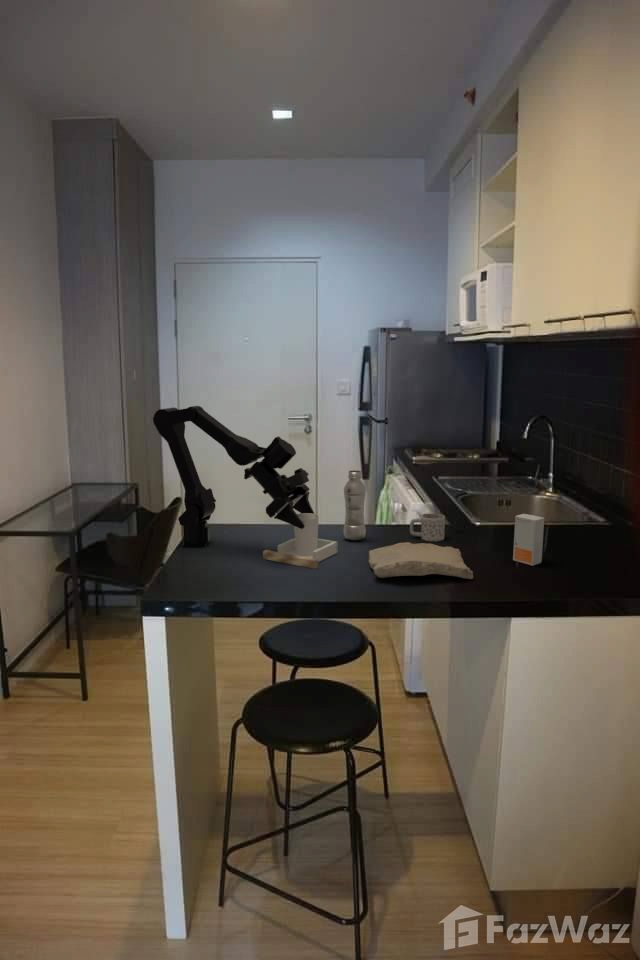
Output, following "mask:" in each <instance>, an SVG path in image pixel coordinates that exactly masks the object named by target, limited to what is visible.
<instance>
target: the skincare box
mask: <svg viewBox="0 0 640 960" xmlns="http://www.w3.org/2000/svg"><path fill="white" fill-rule="evenodd" d="M544 526H545V517H542V516H537V515H534V514H533V515H532V514H526V513H521V514H517V515H515V517H514V533H513V536H514V537H513V552H512V553H513V555H512V560H513V561H515V562H518V563H522V564H526V565H529V566H532V567H533V566H535V565H539V564H541V563H542V561H543V560H542V559H543V558H542V557H543V543H544V529H545V527H544Z"/></svg>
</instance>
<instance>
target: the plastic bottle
mask: <svg viewBox="0 0 640 960" xmlns="http://www.w3.org/2000/svg"><path fill="white" fill-rule="evenodd" d="M347 477H348V481H347V482H346V483H345V485H344V487H343V496H344V502H345V505H344V506H345V518H344V523H343V524H344V525H343V535H344V538H345V539H346V540H350V541H360V540H363V539H364V537H366V531H367V528H366V524H365V514H364V512H365V500H366V494H367V489H366V485H365V483H363V481H362V480H361V479H362V478H363V477H362V471H361V470H359V469H358V470H355V469H354V470H353V469H352V470H349V471H348V476H347Z"/></svg>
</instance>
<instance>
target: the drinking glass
mask: <svg viewBox="0 0 640 960" xmlns="http://www.w3.org/2000/svg"><path fill="white" fill-rule="evenodd" d="M296 514H297V515H298V517H299V518H300V520H301V521H302V522H303V524H304V526H305V527H304V528H303V529H300V528H298V527H296V526H293V529H294V538H295V551H296V554H298V555H302V556H309V555H313V553H312V552H313V551H315V550H317V543H318V539H319V518H320V517H319V515H318V514H316V513H314V514H312V513H296Z"/></svg>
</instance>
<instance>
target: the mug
mask: <svg viewBox="0 0 640 960" xmlns="http://www.w3.org/2000/svg"><path fill="white" fill-rule="evenodd" d="M445 522H446V515H444V514H440V513H434V512H433V513H431V512H430V513H429V512H428V513H423V514H421V517H419V518H418V517H417V518H413V519H411V520H410V522H409V533H410V535H411V536H416V537H420V539H421V540H424V541H427V542H441V541H444V539H445ZM415 523H420V525H421V529H420V531H414V524H415Z"/></svg>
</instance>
